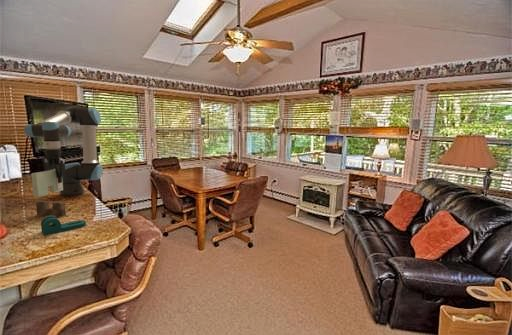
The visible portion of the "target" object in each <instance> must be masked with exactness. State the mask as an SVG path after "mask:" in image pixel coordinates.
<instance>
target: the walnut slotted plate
mask: <svg viewBox="0 0 512 335" xmlns="http://www.w3.org/2000/svg"><path fill="white" fill-rule="evenodd" d="M35 206H36V207H35V208H36V215H37V216H45V217H46V216H49V215H52V216H55V217H60V218H61V217H62V218H63V217H65V216H66V215H67V214H66V202H65V201H53V202H51V207H50V202H49V200H37V201H35Z"/></svg>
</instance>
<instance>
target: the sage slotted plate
mask: <svg viewBox="0 0 512 335" xmlns="http://www.w3.org/2000/svg"><path fill="white" fill-rule="evenodd" d="M30 175H31V185H32V192H33V193H32V194H33V198H41V197H44V196H48V195H49V193H57V192H59V193H60V191H62V190H63V181H62V183H61V184H62V188H59V189H57V186H56V177H57V175H56V170H55V168H54V169H53V170H48V171H45V170H43V171H42V170H41V171H38V172H32V173H30Z"/></svg>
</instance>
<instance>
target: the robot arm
mask: <svg viewBox="0 0 512 335" xmlns="http://www.w3.org/2000/svg"><path fill="white" fill-rule="evenodd" d="M101 121H102V116H101V114H100V111H99V110H98V109H97V108H96V107H95V108H94V107H81V106H80V107H78V106H77V107H76V106H73V107H68V108H65V109H61V110H60V111H58V112H57V113H56V114H55V115H53V116H50V117H48V118H45V119H44V120H42V121H39V122H37V123H34V124H33V123H31V124H26V125H25V126H23V131H24V134H25V136H26V137H30V138H43V147H44V155H45V158H44V159H43V158H42V159H41V162H42V164H43V169H44V170H43V171H48V170H53V169H55V170H56V175H57V177H56V186H57V189H59V188H62V184H61V183H62V181H63V190H62V191H59V195H60V196H61V197H73V196H79V195H80V196H81V195H83V194H84V193H85V189H84V187H83V185H82V181H97V180H100V179H101V178H102V176H103V171H104V170H103V169H104V168H103V165H102V164H100V162H99V160H98V157H97V155H98V152H97V131H96V130H97V128H99V124H101V123H102V122H101ZM68 124H69V125H70V124H79V127H80V128H81V131H82V135H81V136H82V156H83V160H82V161H81V162H71V163H66V159H62V157H61V156H62V149H61V148H62V147H61V145H62V144H61V138H68V137H69V136H70V135H71V134H72V129H71V127H69V126H68Z"/></svg>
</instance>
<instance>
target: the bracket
mask: <svg viewBox="0 0 512 335" xmlns="http://www.w3.org/2000/svg"><path fill="white" fill-rule="evenodd" d="M57 217H58V216H52V215H49V216H45V217H43V218H42V220H41V222H40V226H41V233H42V235H43V237H47V236H50V235H55V234H56V235H57V234H59V233H65V232H69V231H72V230H77V229H82V228H85V227H86V226H87V221H86V220H83V219H81V220H80V219H79V220H74V221H70V222H64V223H61V221H60V219H59V218H57Z"/></svg>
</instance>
